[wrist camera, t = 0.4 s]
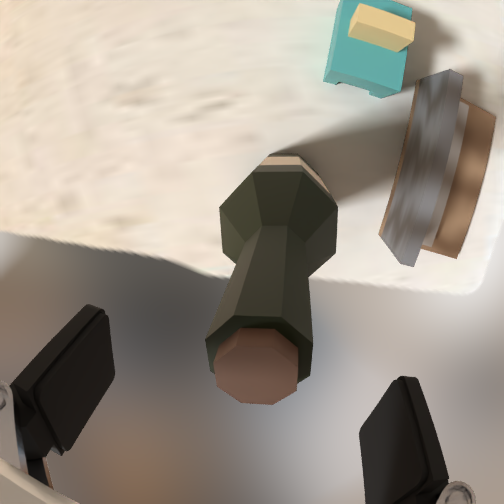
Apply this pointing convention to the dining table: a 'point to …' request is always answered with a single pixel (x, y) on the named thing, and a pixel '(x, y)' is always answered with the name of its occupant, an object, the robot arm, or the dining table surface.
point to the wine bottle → (270, 279)
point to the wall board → (460, 180)
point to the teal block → (370, 45)
